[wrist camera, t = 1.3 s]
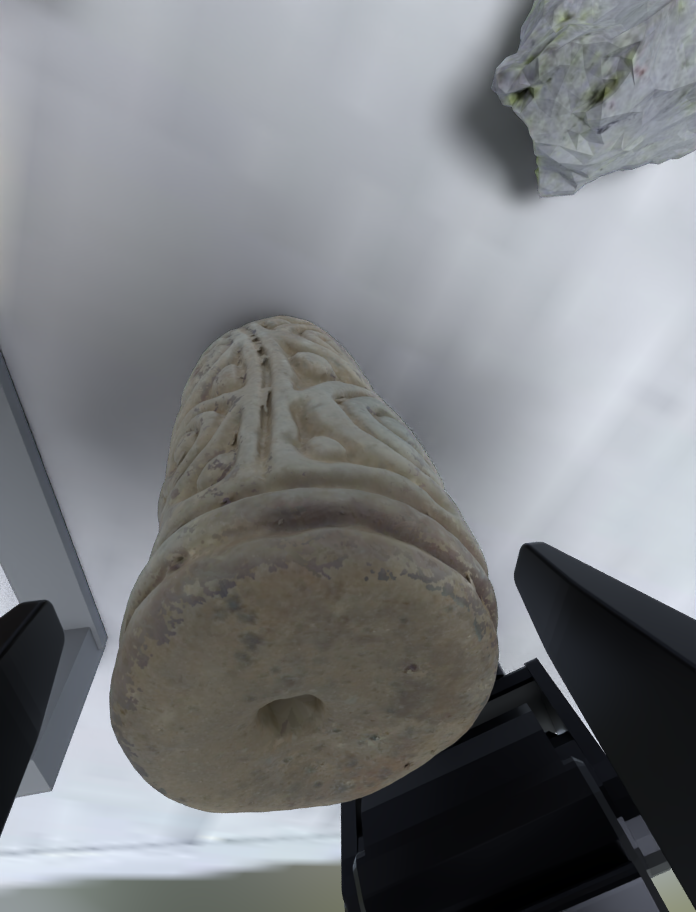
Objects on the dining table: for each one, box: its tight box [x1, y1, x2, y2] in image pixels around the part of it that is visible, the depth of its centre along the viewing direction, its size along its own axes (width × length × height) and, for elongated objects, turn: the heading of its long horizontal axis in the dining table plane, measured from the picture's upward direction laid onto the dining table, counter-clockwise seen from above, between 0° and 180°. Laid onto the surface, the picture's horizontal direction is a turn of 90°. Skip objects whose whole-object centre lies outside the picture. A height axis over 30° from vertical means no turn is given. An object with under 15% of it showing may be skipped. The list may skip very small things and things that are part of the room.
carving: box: [109, 315, 499, 813], centre depth 11 cm, size 6×8×12 cm
